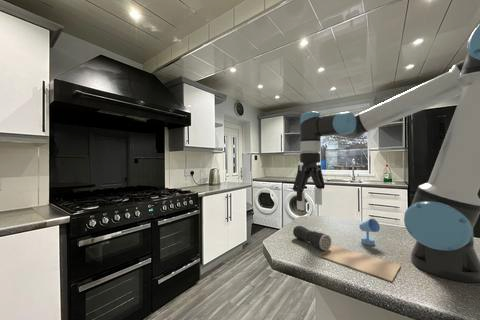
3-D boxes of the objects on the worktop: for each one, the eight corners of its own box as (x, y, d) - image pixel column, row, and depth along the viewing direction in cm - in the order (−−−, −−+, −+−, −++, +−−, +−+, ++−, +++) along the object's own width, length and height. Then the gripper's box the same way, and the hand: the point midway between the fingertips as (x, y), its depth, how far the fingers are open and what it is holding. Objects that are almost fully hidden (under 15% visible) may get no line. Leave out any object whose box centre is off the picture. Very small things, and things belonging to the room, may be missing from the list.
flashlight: (291, 238, 85) (291, 225, 85) (301, 236, 87) (301, 223, 87) (320, 251, 71) (320, 236, 71) (331, 248, 73) (331, 233, 73)
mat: (400, 266, 61) (400, 265, 61) (391, 282, 53) (391, 280, 53) (333, 246, 76) (333, 245, 76) (318, 256, 68) (318, 255, 68)
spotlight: (382, 246, 76) (366, 239, 83) (381, 219, 76) (366, 215, 83) (371, 247, 75) (356, 240, 82) (370, 220, 75) (356, 215, 82)
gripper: (316, 153, 90) (316, 201, 90) (283, 151, 73) (283, 210, 73) (333, 153, 85) (333, 203, 85) (301, 151, 68) (301, 214, 68)
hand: (309, 206), depth 79 cm, fingers open, 13 cm apart
